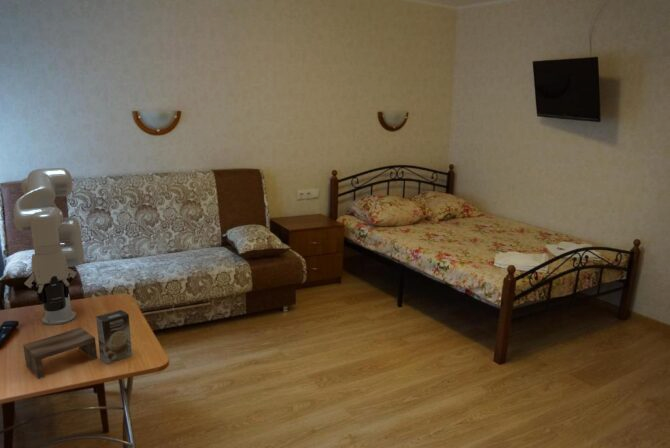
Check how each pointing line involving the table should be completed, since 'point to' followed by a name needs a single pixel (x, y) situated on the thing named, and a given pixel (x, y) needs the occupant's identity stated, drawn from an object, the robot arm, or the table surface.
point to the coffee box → (114, 336)
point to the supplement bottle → (54, 295)
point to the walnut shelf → (58, 348)
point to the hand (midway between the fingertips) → (54, 299)
